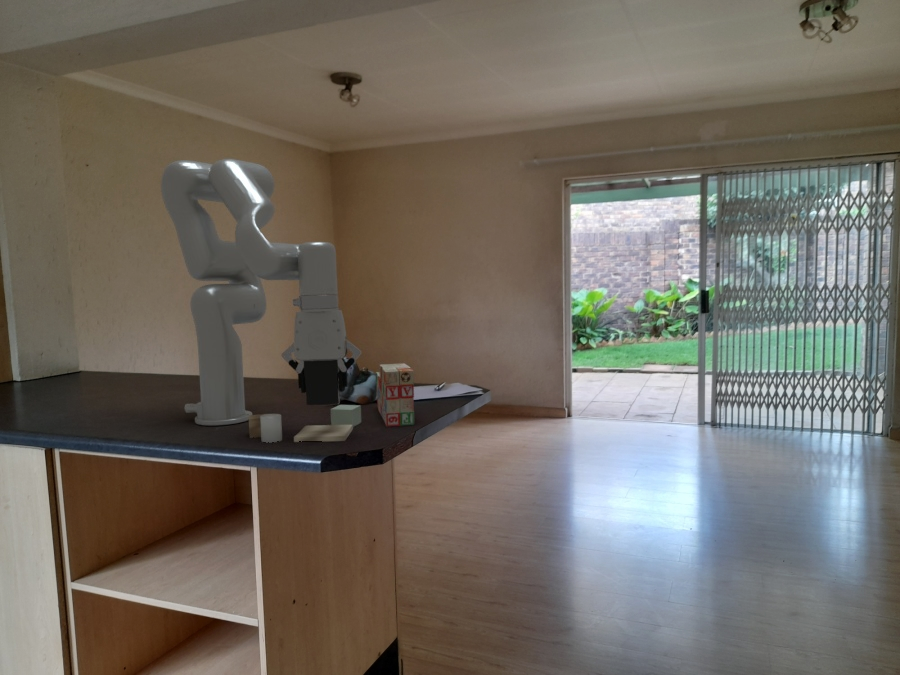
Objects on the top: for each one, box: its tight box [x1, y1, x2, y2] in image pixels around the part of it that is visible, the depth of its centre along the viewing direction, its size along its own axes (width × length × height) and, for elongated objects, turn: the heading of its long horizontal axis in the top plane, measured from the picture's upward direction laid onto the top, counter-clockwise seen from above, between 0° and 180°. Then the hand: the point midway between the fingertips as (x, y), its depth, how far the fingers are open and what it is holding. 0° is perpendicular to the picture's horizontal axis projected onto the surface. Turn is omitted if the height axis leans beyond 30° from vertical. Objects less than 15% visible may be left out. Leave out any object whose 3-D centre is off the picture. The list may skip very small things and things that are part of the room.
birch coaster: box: [293, 424, 354, 443], centre depth 126 cm, size 10×10×1 cm
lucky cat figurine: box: [339, 356, 377, 405], centre depth 164 cm, size 15×12×14 cm
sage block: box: [330, 404, 362, 428], centre depth 136 cm, size 5×5×4 cm
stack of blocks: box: [375, 363, 415, 428], centre depth 143 cm, size 21×6×12 cm, turn 12°
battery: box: [304, 360, 341, 406], centre depth 125 cm, size 7×4×11 cm, turn 89°
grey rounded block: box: [260, 413, 283, 444], centre depth 123 cm, size 4×4×5 cm
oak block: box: [248, 413, 267, 439], centre depth 128 cm, size 4×4×4 cm
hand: (323, 390), depth 125 cm, fingers closed on battery, 7 cm apart
